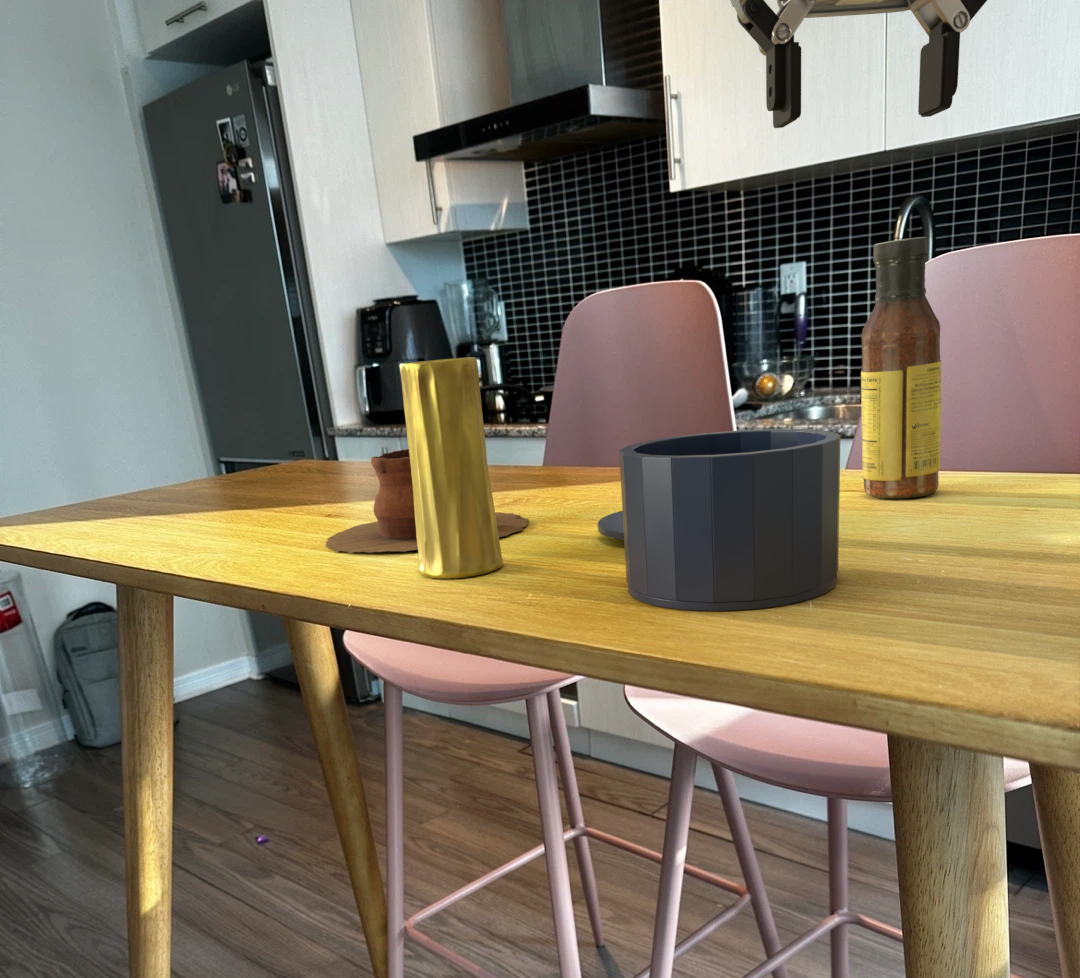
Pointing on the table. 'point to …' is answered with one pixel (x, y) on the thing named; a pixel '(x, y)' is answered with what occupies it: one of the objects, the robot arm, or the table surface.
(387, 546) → the ceramic pot
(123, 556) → the table surface
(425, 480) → the vase
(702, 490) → the tin
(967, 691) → the table surface
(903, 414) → the sauce bottle
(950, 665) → the table surface
